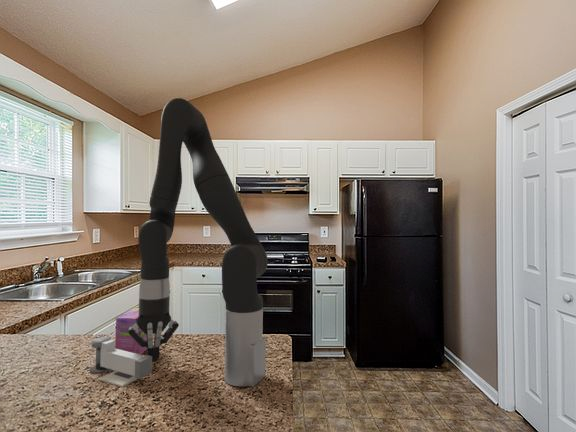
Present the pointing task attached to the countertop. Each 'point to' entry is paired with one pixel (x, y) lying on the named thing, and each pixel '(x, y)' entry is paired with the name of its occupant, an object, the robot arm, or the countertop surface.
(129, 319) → the box
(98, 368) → the grey pedestal stand
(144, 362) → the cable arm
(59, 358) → the countertop surface
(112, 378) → the label tile
